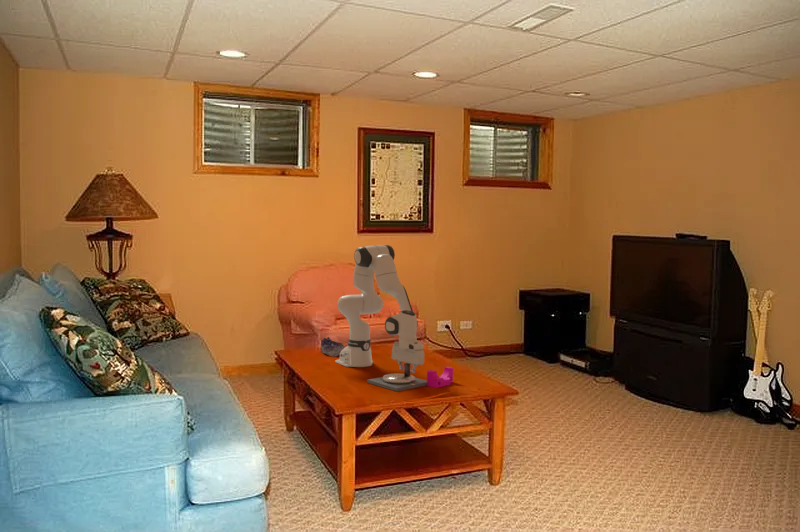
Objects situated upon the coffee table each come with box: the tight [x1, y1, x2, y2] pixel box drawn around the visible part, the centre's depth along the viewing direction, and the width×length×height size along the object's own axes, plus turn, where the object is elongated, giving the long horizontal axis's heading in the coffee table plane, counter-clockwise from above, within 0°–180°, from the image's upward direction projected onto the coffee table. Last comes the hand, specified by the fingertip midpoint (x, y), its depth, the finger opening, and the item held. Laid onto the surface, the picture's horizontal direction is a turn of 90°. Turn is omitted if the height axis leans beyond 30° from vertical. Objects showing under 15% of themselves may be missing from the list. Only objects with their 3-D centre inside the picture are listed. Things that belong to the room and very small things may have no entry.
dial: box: [382, 362, 416, 384], centre depth 322 cm, size 16×16×8 cm
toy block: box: [426, 366, 454, 389], centre depth 323 cm, size 15×6×8 cm, turn 135°
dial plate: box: [366, 376, 428, 392], centre depth 322 cm, size 22×22×2 cm
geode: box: [320, 336, 345, 357], centre depth 391 cm, size 20×12×10 cm, turn 37°
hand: (407, 371), depth 326 cm, fingers open, 7 cm apart
